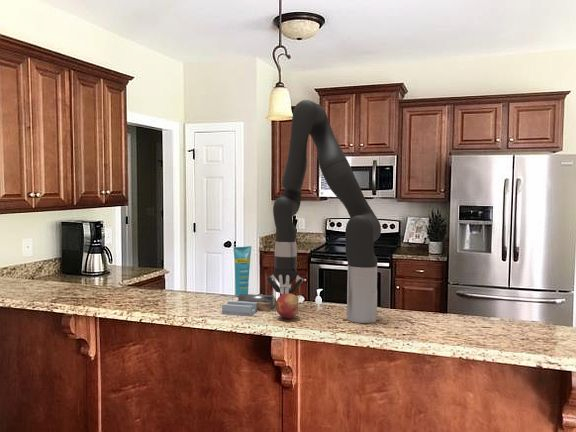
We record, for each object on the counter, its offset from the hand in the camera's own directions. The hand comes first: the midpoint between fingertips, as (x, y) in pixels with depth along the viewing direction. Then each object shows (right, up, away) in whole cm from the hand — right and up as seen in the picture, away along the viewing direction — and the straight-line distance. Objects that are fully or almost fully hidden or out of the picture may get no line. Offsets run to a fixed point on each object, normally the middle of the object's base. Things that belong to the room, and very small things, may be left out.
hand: (285, 304), depth 162 cm
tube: (-17, -1, +21) cm, 27 cm away
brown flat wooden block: (-10, -1, +2) cm, 10 cm away
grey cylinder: (-10, +1, +2) cm, 10 cm away
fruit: (+1, -2, -13) cm, 13 cm away
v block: (-15, -2, -6) cm, 16 cm away
